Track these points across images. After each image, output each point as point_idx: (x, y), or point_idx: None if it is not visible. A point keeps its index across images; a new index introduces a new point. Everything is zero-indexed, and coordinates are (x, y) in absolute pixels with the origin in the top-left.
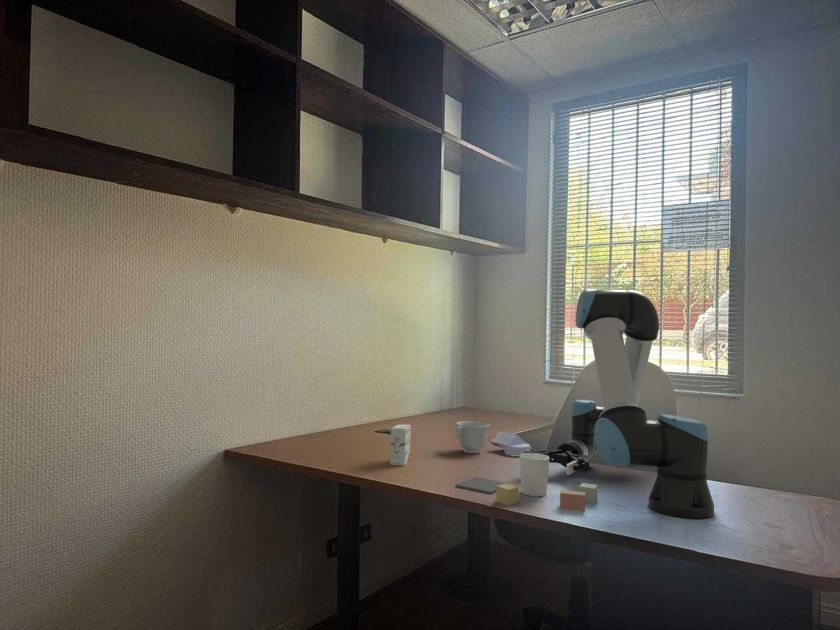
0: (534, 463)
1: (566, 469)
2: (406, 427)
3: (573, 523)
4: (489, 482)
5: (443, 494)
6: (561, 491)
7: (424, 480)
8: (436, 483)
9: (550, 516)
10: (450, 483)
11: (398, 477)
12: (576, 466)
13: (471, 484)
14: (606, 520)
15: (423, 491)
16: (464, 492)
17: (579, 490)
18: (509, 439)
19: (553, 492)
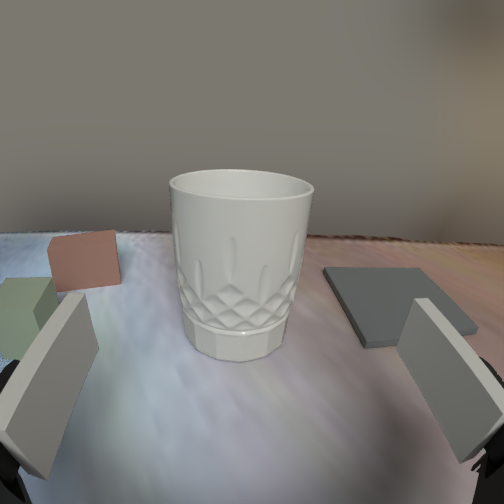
0: (215, 185)
1: (90, 321)
2: None
3: None
4: (406, 313)
5: (375, 242)
6: (111, 235)
7: (477, 271)
8: (452, 270)
9: (133, 239)
10: (446, 281)
11: (500, 263)
12: (17, 363)
13: (405, 280)
14: (27, 257)
15: (406, 240)
16: (368, 259)
17: (55, 291)
18: None
19: (169, 372)
